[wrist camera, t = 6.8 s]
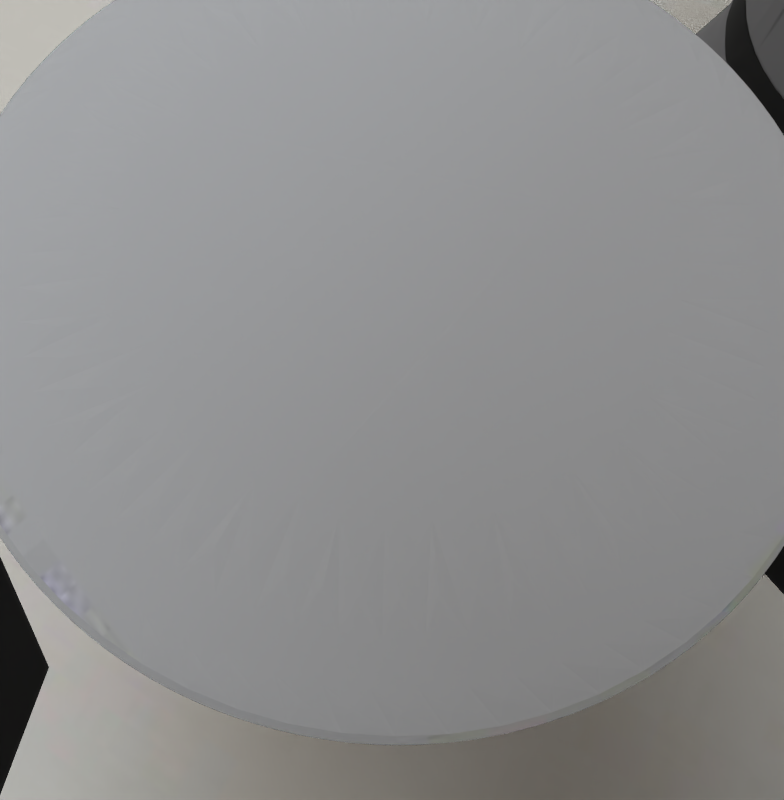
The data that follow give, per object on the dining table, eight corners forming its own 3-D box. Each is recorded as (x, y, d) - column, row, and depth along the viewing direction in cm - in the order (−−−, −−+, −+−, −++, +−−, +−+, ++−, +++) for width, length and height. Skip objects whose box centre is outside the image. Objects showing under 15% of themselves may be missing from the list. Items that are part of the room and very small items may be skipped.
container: (419, 706, 25) (614, 1009, 6) (189, 556, 26) (-298, 378, 7) (548, 471, 27) (973, 130, 8) (335, 346, 29) (279, -201, 10)
